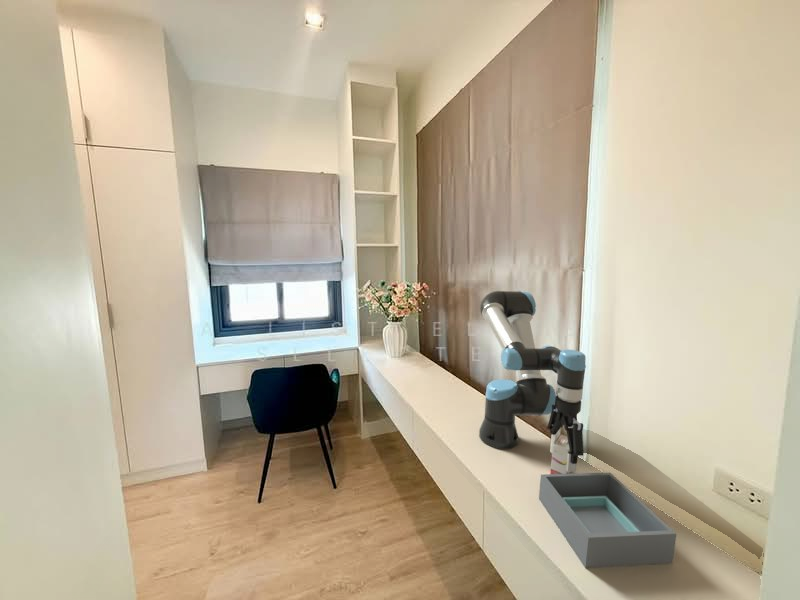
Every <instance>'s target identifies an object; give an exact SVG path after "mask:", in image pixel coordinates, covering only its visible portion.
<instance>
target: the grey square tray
mask: <svg viewBox="0 0 800 600" xmlns="http://www.w3.org/2000/svg"><path fill="white" fill-rule="evenodd" d="M539 482H540V483H539V490H538V491H539V494H538V500H539V502H540V503H541V504H542V505H543V507H544V509H545V510H546V512H547V513H548V515H549V516H550V517H551V519H552V521H553V520H554V521H553V522H554V524H555V523H556V524H555V525H556V527H557V526H558V527H557V528H558V529H560V530H559V531H560V532H561V534H562V536H563V537H564V538H566V539H565V540H566V541H567V543H568V544H569V546H570V547H571V549H572V551H574V554H575V555H576V556H577V558H578V559H579V561H580V562H581V564H582V565H583V567H584V568H586V569H590V568H608V567H609V568H610V567H631V566H646V565H647V566H649V565H664V564H665V565H668V564H669V565H670V564H673V561H674V560H673V559H674V553H675V547H676V540H677V532H676V531H674V529H672V528H671V527H670V526H669V525H668V524H667V523H666V522H664V521H663V519H661V518H660V517H659V515H657V514H656V513H655V512H654V511H653V510H651V508H649V507H648V506H647V505H646V504H645V503H644V502H643V501H642V500H641V499H639V498H638V496H636V495H635V494H634V493H633V492H632V491H631V490H630V489H629V488H628V487H627V486H626V485H624V484H623V483H622V482H621V481H620V480H619V479H618V478H617V477H616V476H615V475H614V474H613V473H612V472H584V473H583V472H581V473H569V474H547V473H546V474H540V480H539Z"/></svg>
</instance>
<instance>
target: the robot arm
mask: <svg viewBox="0 0 800 600" xmlns="http://www.w3.org/2000/svg"><path fill="white" fill-rule="evenodd" d="M536 307H537V304H536V300H535V298H534V296H533V295H532V294H531V293H530V292H528V291H522V290H516V291H512V290H511V291H506V290H503V291H502V290H496V291H490V292H489V293H488V294H487V295H485V296H484V297H483V298H482V301H481V302H480V306H479V309H480V314H481V316H482V318H483V320H485V321H486V322H488V325H489V327H490V329H491V330H492V333H493V334H494V336H495V338H496V339H497V341H498V344H499V346H500V347H501V349H502V351H501V354H500V361H501V365H502V367H503V368H504V369H505V370H508V371H510V370H511V371H517V372H518V378H517V380H516V381H513V380H510V379H506V378H505V379H504V378H502V379H501V378H500V379H494V380H491V381H490V382H489V383H488V384H487V386H486V389H485V391H486V392H485V402H484V404H485V405H484V418H483V420H482V422H481V425H480V427H479V432H478V433H479V434H478V436H479V439H480V440H481V441H482V442H483V443H484V444H485V445H487V446H490V447H492V448H496V449H500V450H501V449H502V450H508V449H513V448H515V447H516V446H518V443H519V434H518V430H517V425H516V416H545V415H550V416H549V420H548V424H547V429H548V430H549V431H550V435H551V436H550V447H549V452H550V453H551V454H552V452H553V443H554V438H555V435H556V434H557V432H558V431H559V429H560V428H561V429H562V428H563V427H564V431H566V436H567V437H568V443H569V449H570V451H568V456H567V466H566V471H567V472H570V473H572V472H573V473H574V472H576V470H577V464H578V457H579V456H584V439H583V437H584V435H583V430H584V424H583V423H582V422H579V421H578V418H577V415H578V414H579V413H580V412H581V409H582V399H583V390H584V381H585V373H586V372H585V371H586V368H587V366H586V358H587V357H586V355H585V354H584V353H583V352H582V351H578V350H577V349H576V350H575V349H568V348H567V349H562V350H561V349H559V348H558V347H556V346H553V345H544V346H543V347H541V348H536V345H535V339H534V334H533V330H532V324H531V321H532V319H534V318H533V316H534V315H535V314H536V312H537V311H536V310H537V309H536ZM541 371H552V372H554V373H555V374H557V380H556V389H555V388H554V387H553V385H551V384H548V383H547V379H546V377H544V376H542V374H541ZM558 434H559V433H558Z"/></svg>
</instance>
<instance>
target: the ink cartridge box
mask: <svg viewBox="0 0 800 600" xmlns="http://www.w3.org/2000/svg"><path fill="white" fill-rule="evenodd" d="M561 432H562V428H560V429H559V431H558V432H557V434H556V435H555V438H554V443H553V452H552V453H551V463H550V464H551V465H550V474H571V472H567V471H566V466H567V456H568V451H570V449H569V443H568V437H567V435H563V434H561ZM558 433H559V434H558Z"/></svg>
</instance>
